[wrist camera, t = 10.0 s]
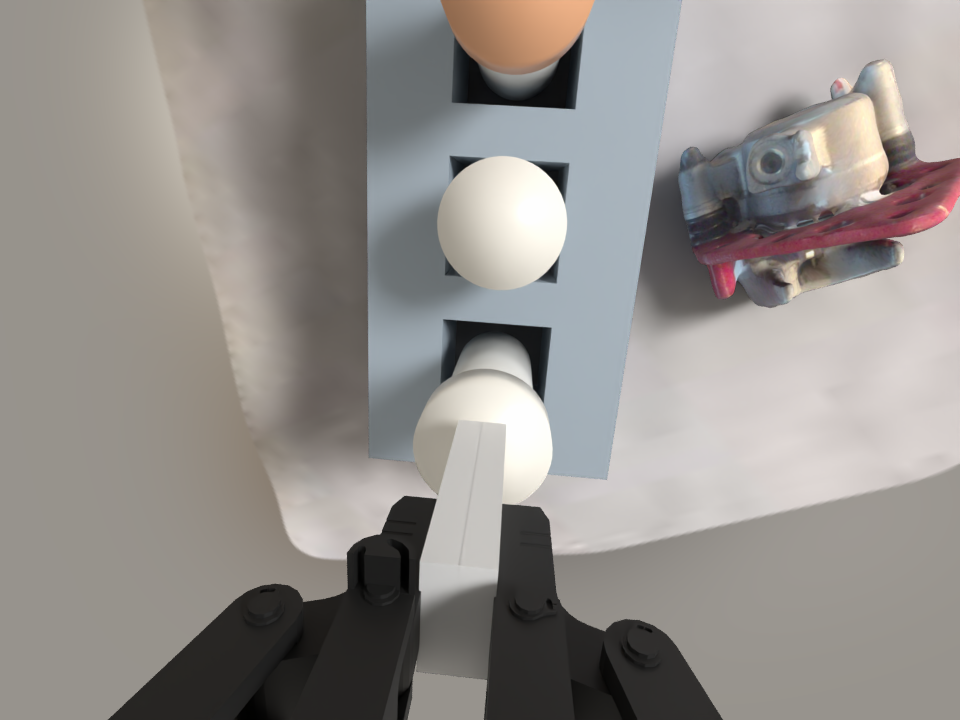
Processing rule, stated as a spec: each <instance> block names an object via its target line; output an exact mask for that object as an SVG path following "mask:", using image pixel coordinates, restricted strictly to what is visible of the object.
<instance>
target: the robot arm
mask: <svg viewBox="0 0 960 720" xmlns="http://www.w3.org/2000/svg"><path fill="white" fill-rule="evenodd" d="M505 442H506V424H501V423H490V422H478V421H467V420H459V421H458V425H457V428H456V432H455V436H454V439H453V443H452V446H451V450H450V454H449V457H448V461H447V465H446V468H445V472H444V476H443V479H442V483H441V486H440V490H439V494H438V497H437V499H433V498H422V497H412V496H404V497H403V498H401V499H400V500H399V501H398V502H397V503H396V504H394V505H393V506H392V508H391V510H390V513H389V515H388V517H387V521H386V522H385V525H384V527H383V529H382V533H381V534H380V535H374V536H370V537H367V538H364V539H362V540H360V541H359V542H357V543H355V544H354V545H353V546H352V547H351V548H350V550H349V551H348V552H347V575H348V589H347V591H346V592H344V593H342V594H340V595H337V596H335V597H331V598H326V599H321V600H314V601H307V602H303V599H302V597H301V596H300V594H299V592H298V591H297V590H295V589H294V588H292V587H290V586H288V585H281V584H271V585H264V586H260V587H257V588H255V589H252V590H250V591H247V592H246V593H244V594H243V595H242V596H240V597H239V598H237V599H236V600H235V601H234V602H233V603H232V604H230V605H229V606H228V607H227V608H226V609H225V610H224V611H223V612H222V613H221V614H220V615H219V616H218V617H217V618H216V619H215V620H213V621H212V622H211V623H210V624H209V625H208V626H207V627H206V628H205V629H204V630H203V631H202V632H201V633H200V634H199V635H198V636H196V637H195V638H194V639H193V640H192V641H191V642H190V643H189V644H188V645H187V646H186V647H185V648H184V649H183V650H182V651H181V652H180V653H179V654H177V655H176V656H175V657H174V658H173V659H172V660H171V661H170V662H169V663H168V664H167V665H166V666H165V667H164V668H163V669H161V670H160V671H159V672H158V673H157V674H156V675H155V676H154V677H153V678H152V679H151V680H150V681H149V682H148V683H147V684H146V685H144V686H143V687H142V688H141V689H140V690H139V691H138V692H137V693H136V694H135V695H134V696H133V697H132V698H131V699H130V700H128V701H127V702H126V703H125V704H124V705H123V706H122V707H121V708H120V709H119V710H118V711H117V712H116V713H115V714H114V715H113V716H111V717H110V718H109V719H108V720H407V719H408V714H409V709H410V705H411V700H412V680H413V674H414V669H415V665H416V660H417V669H416V671H417V672H423V673H432V674H440V675H450V676H457V677H466V678H476V679H485V680H487V691H486V703H485V714H484V720H723V719H722V718H721V716H720V714H719V713H718V712H717V710H716V708H715V707H714V705H713V704H712V702H711V700H710V699H709V697H708V695H707V694H706V692H705V691H704V689H703V687H702V686H701V684H700V683H699V681H698V680H697V678H696V676H695V675H694V673H693V672H692V670H691V668H690V667H689V665H688V664H687V662H686V661H685V659H684V657H683V656H682V654H681V653H680V651H679V650H678V648H677V646H676V645H675V644H674V643H673V641H672V640H671V639H670V638H669V637H668V636H667V635H666V634H665V633H664V632H662V631H661V630H659V629H657V628H656V627H655V626H653V625H650V624H648V623H645V622H642V621H640V620H628V619H625V620H621V621H618V622H614V623H613V624H612V625H611V626H610V627H608V628H607V630H606V632H605V631H602V630H599V629H597V628H594V627H591V626H589V625H587V624H585V623H582V622H580V621H578V620H577V619H575V618H574V617H573V616H571V615H570V614H569V613H568V612H567V611H566V610H565V609H564V608H563V607H562V605H561V603H560V600H559V599H558V597H557V593H556V586H555V575H554V564H553V554H552V544H551V537H550V535H551V533H550V523H549V519H548V518H547V516H546V515H545V514H544V512H543V511H542V509H541V508H540V507H531V506H521V505H510V504H502V498H503V479H504V461H505Z"/></svg>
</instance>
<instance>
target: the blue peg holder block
mask: <svg viewBox="0 0 960 720" xmlns="http://www.w3.org/2000/svg"><path fill="white" fill-rule="evenodd" d="M681 3H682V0H595V1H594V4H593V6H592V9H591V11H590V14H589V17H588V19H587V22H586V24H585V27H584V28H583V30H582V32H581V34H580V36H579V37H578V39H577V40H576V42H575V43H574V44H573V46H572V47H571V48H570V49H569V50H568V51H567V52H566V53H565V54H564V55H563V56H562V57H561V58H560V60H559V63H558V67H557V70H556V72H555V75H554V77H553V79H552V80H551V82H550V83H549V84H548V86H547V87H546V88H545V89H544V90H543V91H541V92H540V93H539V94H537V95H536V96H534V97H532V98H529V99H526V100H516V101H515V100H509V99H505V98H503V97H500V96H499V95H497V94H496V93H494V92H493V91H492V90H491V89H490V88H489V87H488V86H487V84H486V83H485V81H484V79H483V77H482V75H481V72H480V69H479V66H478V63H477V62H476V61H475V60H474V59H473V58H471V57H470V56H469V55H468V54H467V53H466V51H465V50H464V49H463V48H462V47H461V45H460V44H459V42H458V41H457V39H456V37H455V35H454V34H453V32H452V29H451V27H450V24H449V22H448V19H447V17H446V14H445V11H444V9H443V6H442V4H441V1H440V0H366V74H367V238H368V403H369V458H376V459H387V460H398V461H409V462H415V458H414V453H413V438H414V433H415V429H416V426H417V423H418V421H419V419H420V417H421V414H422V412H423V410H424V408H425V406H426V404H427V401H428V400H429V398H430V396H431V395H432V393H433V392H434V391H435V390H436V389H437V388H438V387H439V386H440V385H441V384H442V383H443V382H444V381H446V380H447V379H449V378H450V377H452V375H453V372H454V370H455V367H456V364H457V362H458V359H459V357H460V354H461V352H462V350H463V348H464V347H465V345H466V344H467V343H468V342H469V341H470V340H471V339H473V338H474V337H476V336H478V335H480V334H482V333H486V332H502V333H506V334H508V335H511V336H513V337H514V338H516V339H517V340H519V341H520V342H521V343H522V344H523V346H524V347H525V348H526V350H527V352H528V354H529V357H530V361H531V372H532V386H533V390H534V391H535V392H536V393H537V394H538V396H539V397H540V399H541V400H542V402H543V404H544V406H545V408H546V411H547V414H548V418H549V424H550V431H551V438H552V447H553V451H552V461H551V465H550V468H549V471H548V474H549V475H560V476H571V477H582V478H593V479H604V480H607V476H608V470H609V463H610V457H611V450H612V444H613V438H614V431H615V425H616V418H617V412H618V406H619V399H620V393H621V387H622V380H623V374H624V367H625V361H626V355H627V348H628V342H629V335H630V329H631V323H632V316H633V310H634V304H635V297H636V291H637V284H638V278H639V272H640V265H641V259H642V252H643V246H644V240H645V233H646V227H647V221H648V214H649V208H650V201H651V195H652V189H653V182H654V176H655V169H656V163H657V157H658V150H659V144H660V138H661V131H662V125H663V118H664V112H665V106H666V99H667V93H668V86H669V80H670V74H671V67H672V61H673V55H674V48H675V42H676V35H677V29H678V23H679V16H680V10H681ZM496 156H510V157H516V158H520V159H524V160H526V161H528V162H530V163H533V164H534V165H536V166H537V167H539V168H540V169H542V170H543V171H544V172H545V173H546V174H547V175H548V176H549V177H550V178H551V179H552V180H553V182H554V183H555V184H556V186H557V187H558V189H559V191H560V193H561V195H562V198H563V201H564V204H565V208H566V214H567V231H566V237H565V241H564V244H563V247H562V250H561V252H560V254H559V256H558V258H557V259H556V261H555V262H554V264H553V265H552V266H551V267H550V269H549V270H548V271H547V272H546V273H545V274H544V275H542V276H541V277H540V278H538V279H537V280H535V281H534V282H532V283H530V284H528V285H526V286H523V287H520V288H516V289H511V290H492V289H487V288H483V287H480V286H478V285H475V284H473V283H471V282H470V281H468V280H466V279H465V278H464V277H462V276H461V275H460V274H459V273H458V272H457V271H456V270H455V269H454V268H453V267H452V266H451V264H450V263H449V262H448V260H447V258H446V256H445V255H444V252H443V250H442V248H441V245H440V241H439V237H438V230H437V218H438V211H439V206H440V203H441V200H442V197H443V195H444V193H445V191H446V189H447V187H448V186H449V185H450V183H451V182H452V180H453V179H454V178H455V177H456V176H457V175H458V174H459V173H460V172H461V171H463V170H464V169H465V168H466V167H468V166H470V165H471V164H473V163H475V162H477V161H479V160H482V159H486V158H489V157H496Z"/></svg>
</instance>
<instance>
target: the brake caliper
mask: <svg viewBox="0 0 960 720" xmlns="http://www.w3.org/2000/svg"><path fill="white" fill-rule="evenodd" d="M831 94H832V99H833V100H830V101H827V102H823V103H819V104H816V105H813V106H810V107H808V108H806V109H803V110H801V111H799V112H797V113H795V114H792V115H790V116H788V117H786V118H783V119H780V120H777V121H774V122H772V123H770V124H768V125H766V126H764V127H762V128H759V129H757V130H755V131H753V132H751V133H750V134H748V135H747V137H746V138H745V140H744V142H743V143H742V144H740V145H739V146H737V147H732V148H727V149H725V150H723V151H722V152H720V153H719V154H718V155H717V156H716V157H715V158H714V159H713V160H712V161H710V162H709V161H707V160H706V159H705V158H704V157H703V155H702V154H701V152H700V151H699V149H698V148H696V147H690V148H688V149H687V150H685V151H684V152H683V154H682V156H681V162H680V171H679V177H678V181H679V187H680V191H681V196H682V207H683V214H684V218H685V221H686V224H687V227H688V231H689V236H690V241H691V246H692V251H693V253H695V255H696V257H697V259H698V261H699V262H700V263H701V264H705V265H707V267H708V270H709V274H710V279H711V283H712V287H713V290H714V293H715V295H716V297H717V298H718V299H727V298H729V297H730V296H732V295H733V293H734V291H735V286H736V281H738V282H740V283H741V285H742V286H743V287H744V289H745V291H746V293H747V294H748V296H749V297H750V299H751V300H752V301H753V302H754V303H755V304H757V305H758V306H764V307H768V308H772V307H776V306H778V305H783V304H787V303H789V302H790V301H791V300H792V299H793V298H795V297H796V296H798V295H799V294H801V293H804V292H807V291H811V290H815V289H819V288H822V287H826V286H831V285H835V284H838V283H842V282H845V281H848V280H851V279H856V278H861V277H864V276H867V275H870V274H872V273H875V272H879V271H882V270H887V269H891V268H893V267H896V266H898V265H900V264H901V263H902V261H903V258H904V247H903V245H902V244H901V243H900V242H897V241H894V240H890V239H886V238H892V237H903V236H907V235H912V234H915V233H919V232H922V231H925V230H927V229H929V228H932V227H934V226H936V225H937V224H939V223H940V222H942V221H943V220H944V219H946V218H947V216H948V215H949V213H950V212H951V211H952V209H953V207H954V205H955V202H956V201H957V198H958V197H959V196H960V158H956V159H951V160H946V161H941V162H931V163H927V162H923V161H920V160H919V159H918V158H917V157H916V154H915V141H914V138H913V136H912V133H911V131H910V128H909V126H908V123H907V121H906V118H905V115H904V111H903V104H902V99H901V95H900V92H899V89H898V86H897V83H896V79H895V73H894V69H893V66H892V64H891V63H890V62H889V61H888V60H884V59H883V60H876V61H873V62H870V63H869V64H867V65H866V66H865V67H864V68H863V70H862V71H861V73H860V75H859V78H858V80H857V82H856V84H855V85H854V87H852V86H851V85H850V84H849V83H848V81H847V80H846V79H844V78H839V79H837V80H836V81H835V82H834V83H833V85H832V86H831Z"/></svg>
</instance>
